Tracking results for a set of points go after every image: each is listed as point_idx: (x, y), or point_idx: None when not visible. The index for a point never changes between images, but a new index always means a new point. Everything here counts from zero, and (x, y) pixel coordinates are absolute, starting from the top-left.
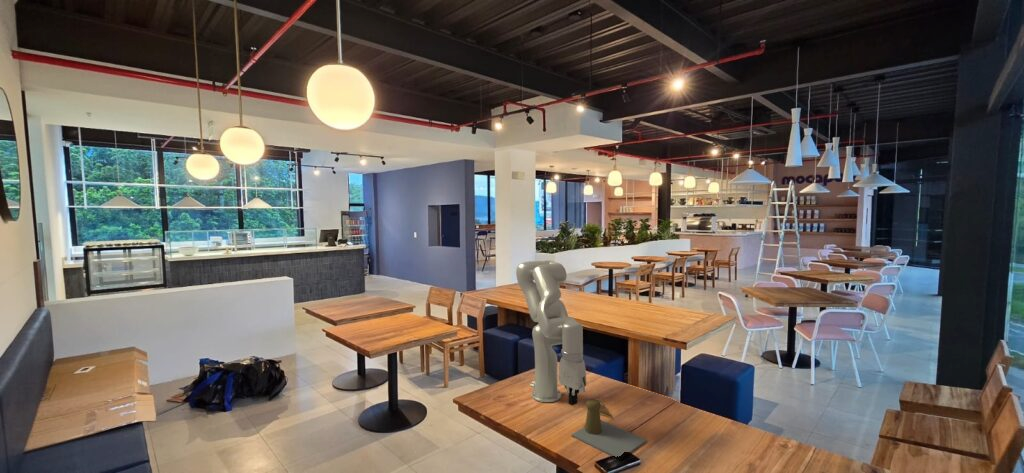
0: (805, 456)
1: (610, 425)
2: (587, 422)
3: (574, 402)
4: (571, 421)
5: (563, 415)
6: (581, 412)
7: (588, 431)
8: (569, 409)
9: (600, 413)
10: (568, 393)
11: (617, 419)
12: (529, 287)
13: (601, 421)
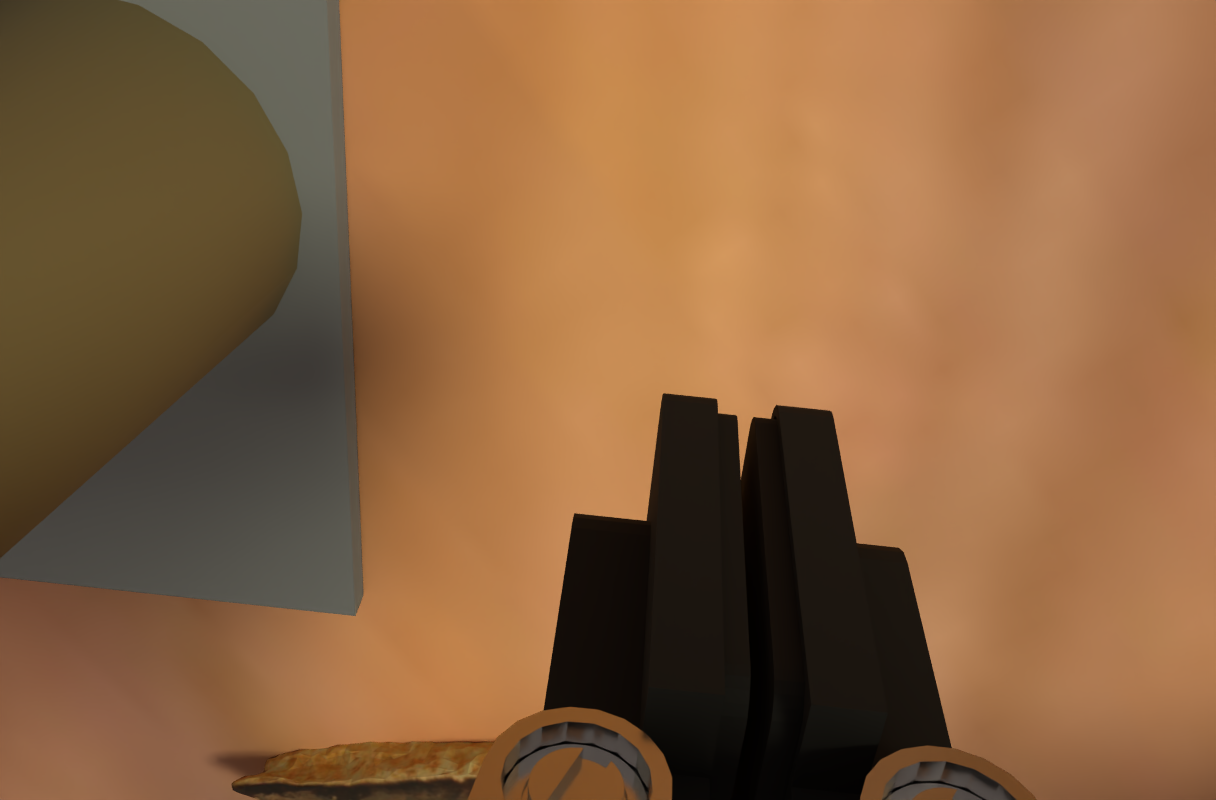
0: None
1: (36, 543)
2: (4, 108)
3: (587, 517)
4: (776, 250)
5: (1083, 362)
6: None
7: (50, 5)
8: (1083, 627)
9: (451, 768)
10: (922, 752)
11: (175, 772)
12: None
13: (252, 569)
